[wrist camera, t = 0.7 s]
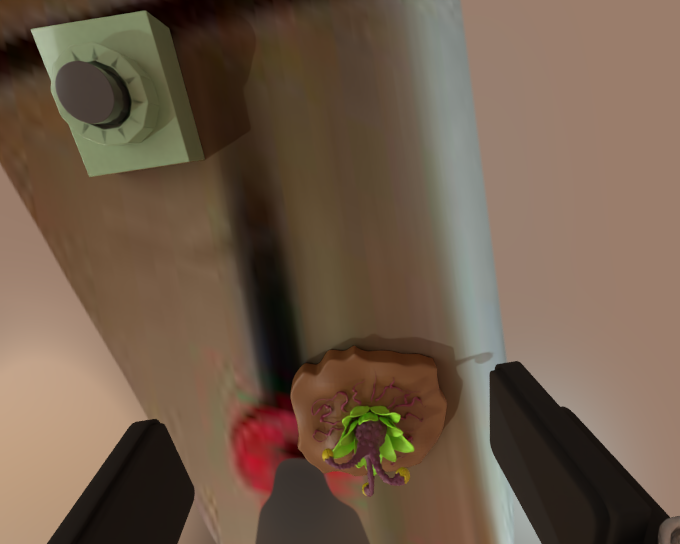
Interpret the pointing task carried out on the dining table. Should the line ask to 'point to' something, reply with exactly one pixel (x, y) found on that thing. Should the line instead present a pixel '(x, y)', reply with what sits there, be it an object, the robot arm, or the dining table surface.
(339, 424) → the plant
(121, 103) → the dark round button cap
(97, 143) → the button base
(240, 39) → the dining table surface
